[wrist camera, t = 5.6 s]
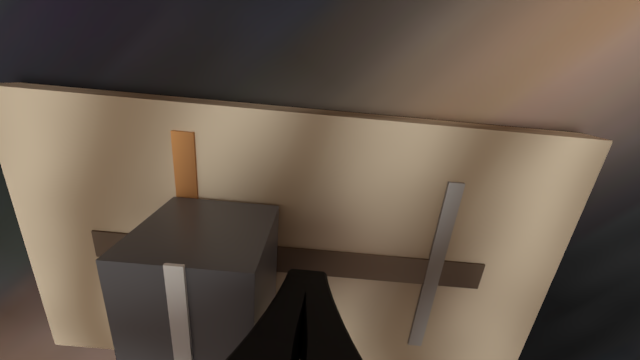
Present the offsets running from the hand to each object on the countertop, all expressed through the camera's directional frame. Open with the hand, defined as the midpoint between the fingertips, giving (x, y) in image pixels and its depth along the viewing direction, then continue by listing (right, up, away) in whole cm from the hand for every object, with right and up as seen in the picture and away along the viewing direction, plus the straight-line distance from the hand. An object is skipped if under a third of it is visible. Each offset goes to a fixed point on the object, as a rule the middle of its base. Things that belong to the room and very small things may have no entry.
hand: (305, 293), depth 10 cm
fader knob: (-3, +1, +2) cm, 4 cm away
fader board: (-1, +1, +3) cm, 3 cm away
